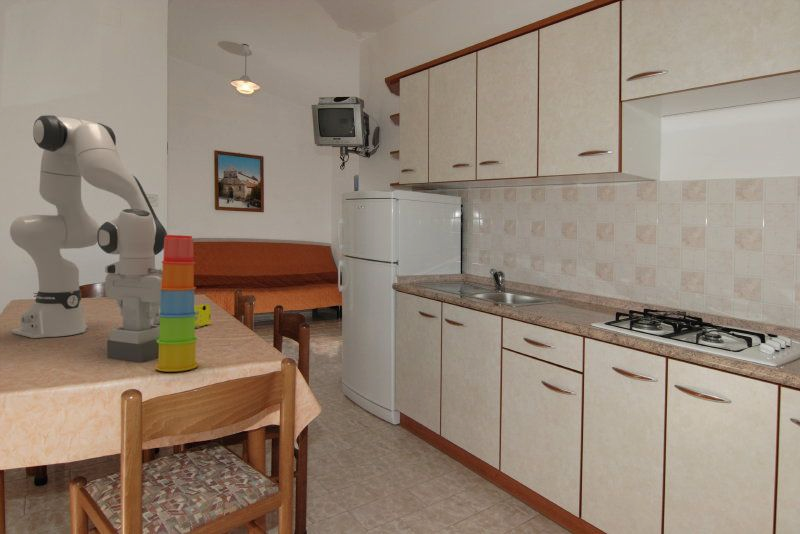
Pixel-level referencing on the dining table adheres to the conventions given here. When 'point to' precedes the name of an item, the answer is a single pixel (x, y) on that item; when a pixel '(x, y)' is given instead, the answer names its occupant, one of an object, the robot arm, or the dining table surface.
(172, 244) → the stacking cups
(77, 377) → the dining table surface
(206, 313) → the yellow toy chassis
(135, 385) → the dining table surface
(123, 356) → the grey open cubby box
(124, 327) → the skincare box
